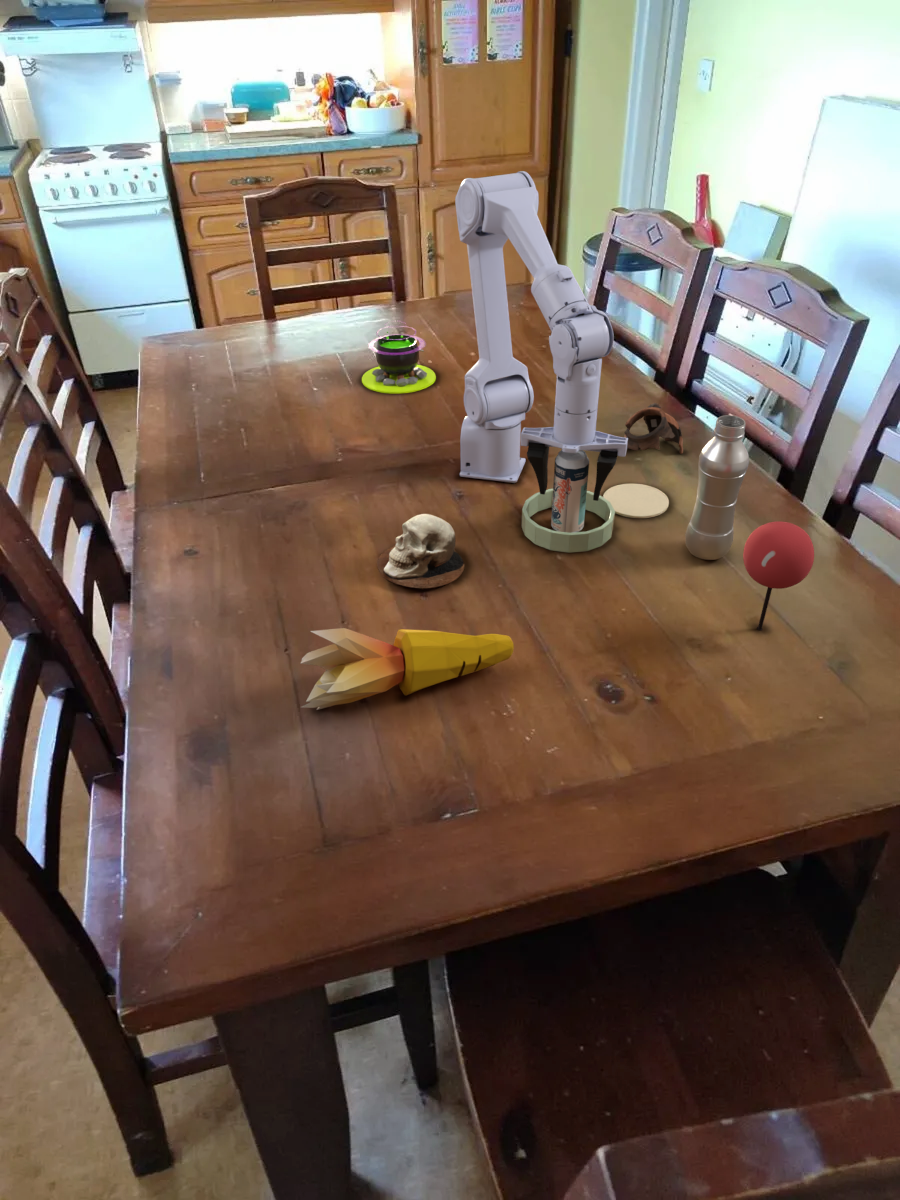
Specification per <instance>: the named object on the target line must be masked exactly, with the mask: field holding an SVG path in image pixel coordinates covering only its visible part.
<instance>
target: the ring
mask: <svg viewBox="0 0 900 1200" xmlns="http://www.w3.org/2000/svg"><path fill="white" fill-rule="evenodd" d="M593 495H594V491H590V490H587V494H586V506H585V511H588V512H591V513H594V514H596V515H597V516H598V517H600V518H601V519H602V520H604V523H603V524H602V525H601V526H598V527H595V528H593V529H589V530H587V531H578V532H574V533H568V532H560V531H556V530H554V529H550V528H547V527H545V526H542V525H540V524H538V523H537V522H535V521H534V520H533V519H532V518H531V517H533V515H535V514H537V513H538V512H541V511H544V510H547V509H551V508H552V500H553V488H547V489H546V492H545V495H544V494H540V491H538V492H535V493H534V494H533V495H530V496H529V497H528V498H527V499H525V501H524V504H523V506H522V509H521V528H522V529H521V530H522V531H523V535H524V536H525V537H526V538H527V539H528V540H529V541H531V542H532V543H533V544H534V545H536V546H539V547H541V548H543V549H546V550H549V551H552V552H553V551H554V552H561V553H568V554H569V553H571V554H572V553H583V552H589V551H591V550H594V549H597V548H601V547H602V546H604V545H605V544H606V543H607V542H608V541H609V540H610V539H611V538H612V535H613V531H614V524H615V515H616V513H615V510H614V508H613V507H612V505H611V503H610V502H609V501H608V500H606V499H605V498H603V496H602V495H600V496H599V500H598V501H595V500H593Z"/></svg>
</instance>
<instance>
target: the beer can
mask: <svg viewBox="0 0 900 1200" xmlns="http://www.w3.org/2000/svg"><path fill="white" fill-rule="evenodd" d="M553 468H554V470H553V471H554V472H553V487H552V489H553V500H552V507H551V517H550V518H551V520H550V526H551V527H552V530H554V531H560V532H568V533H574V532H581V531H582V530H583V528H584V527H585V517H586V510H585V506H586V494H587V491H588V481H589V471H590V470H589V469H590V458H589V457H588V454H587V453H586V450H580V451H578V452H577V453H567V452H563V451H562V449H561V450H559V452H558V453H557V454H556V457H555V458H554V467H553Z"/></svg>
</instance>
